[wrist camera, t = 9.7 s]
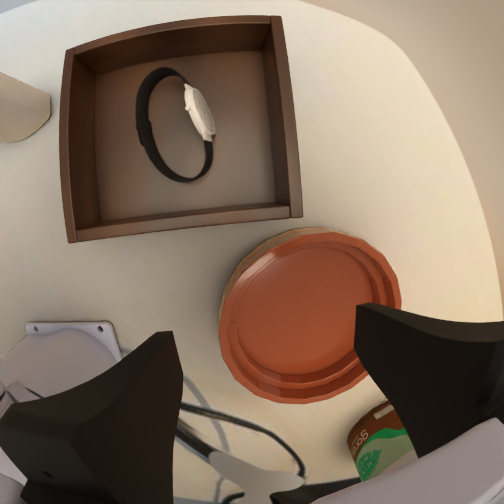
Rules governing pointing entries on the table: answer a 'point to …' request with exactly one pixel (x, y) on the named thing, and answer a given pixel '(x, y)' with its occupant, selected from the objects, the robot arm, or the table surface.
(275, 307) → the bowl
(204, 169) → the watch
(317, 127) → the table surface
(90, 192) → the holder
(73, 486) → the robot arm
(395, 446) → the food container
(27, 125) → the eye dropper bottle
